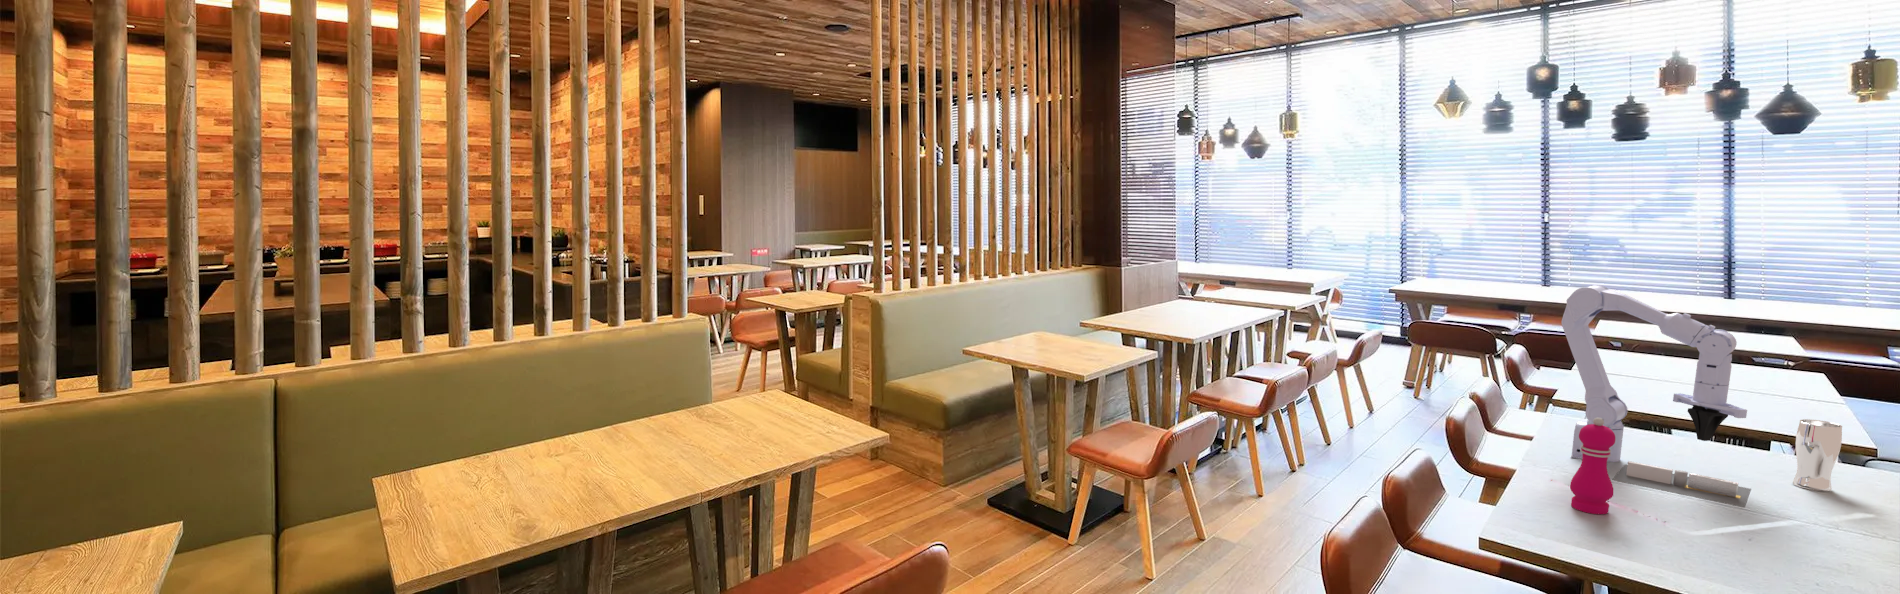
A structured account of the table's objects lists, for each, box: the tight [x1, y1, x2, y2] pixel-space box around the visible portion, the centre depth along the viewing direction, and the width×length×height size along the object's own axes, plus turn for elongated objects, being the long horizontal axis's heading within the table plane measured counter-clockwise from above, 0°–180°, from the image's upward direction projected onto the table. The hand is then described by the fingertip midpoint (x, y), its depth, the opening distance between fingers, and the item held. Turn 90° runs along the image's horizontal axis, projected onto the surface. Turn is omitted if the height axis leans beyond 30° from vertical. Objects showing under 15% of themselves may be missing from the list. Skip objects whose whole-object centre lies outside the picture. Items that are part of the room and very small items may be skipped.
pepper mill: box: [1569, 418, 1615, 515], centre depth 169 cm, size 7×7×20 cm
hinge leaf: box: [1688, 472, 1739, 497], centre depth 177 cm, size 8×1×3 cm, turn 37°
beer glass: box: [1792, 418, 1843, 492], centre depth 182 cm, size 7×7×15 cm
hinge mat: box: [1611, 460, 1752, 508], centre depth 182 cm, size 22×16×4 cm
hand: (1704, 439), depth 186 cm, fingers closed
